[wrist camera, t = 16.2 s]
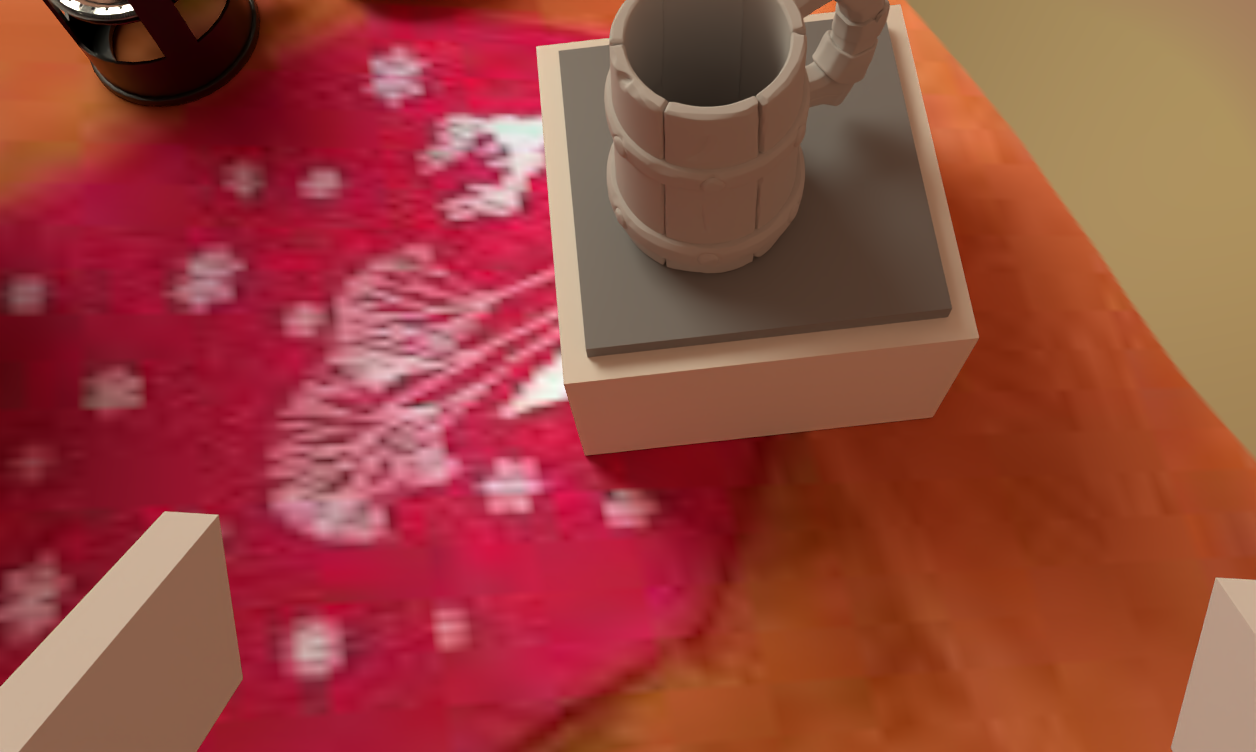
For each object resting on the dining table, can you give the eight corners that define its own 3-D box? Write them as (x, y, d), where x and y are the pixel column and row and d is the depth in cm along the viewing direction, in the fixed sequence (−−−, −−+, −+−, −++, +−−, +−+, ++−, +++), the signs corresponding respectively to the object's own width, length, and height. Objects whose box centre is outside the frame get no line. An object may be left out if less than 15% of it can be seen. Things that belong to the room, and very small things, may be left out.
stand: (584, 455, 51) (561, 376, 42) (559, 159, 57) (533, 34, 48) (932, 417, 51) (984, 329, 42) (870, 124, 57) (903, -9, 48)
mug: (571, 182, 46) (532, -27, 34) (800, 35, 48) (833, -206, 36) (683, 318, 43) (680, 141, 32) (920, 157, 45) (994, -61, 34)
